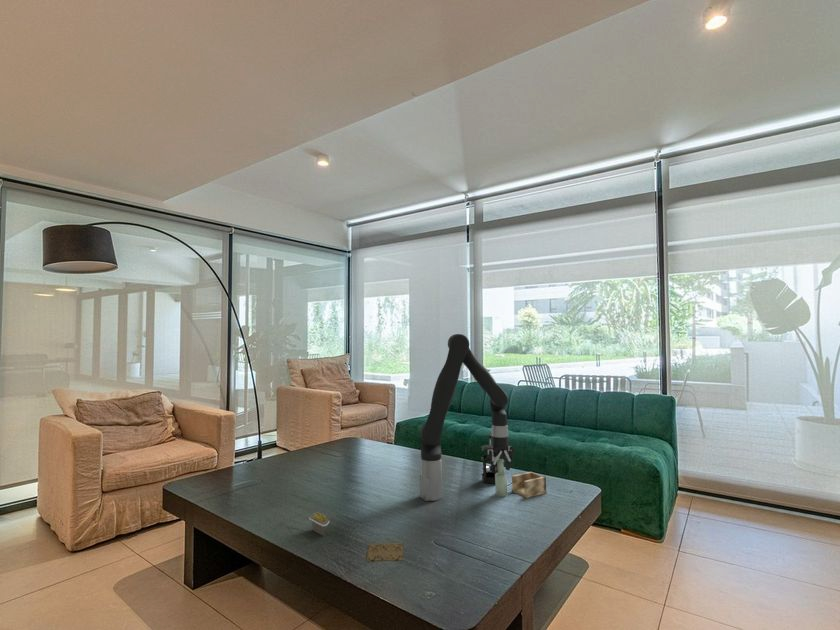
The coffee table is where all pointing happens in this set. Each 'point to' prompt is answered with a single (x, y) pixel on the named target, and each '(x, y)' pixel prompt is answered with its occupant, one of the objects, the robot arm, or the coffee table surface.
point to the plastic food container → (319, 523)
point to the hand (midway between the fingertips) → (500, 471)
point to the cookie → (385, 552)
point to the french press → (488, 475)
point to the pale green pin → (500, 479)
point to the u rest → (529, 484)
